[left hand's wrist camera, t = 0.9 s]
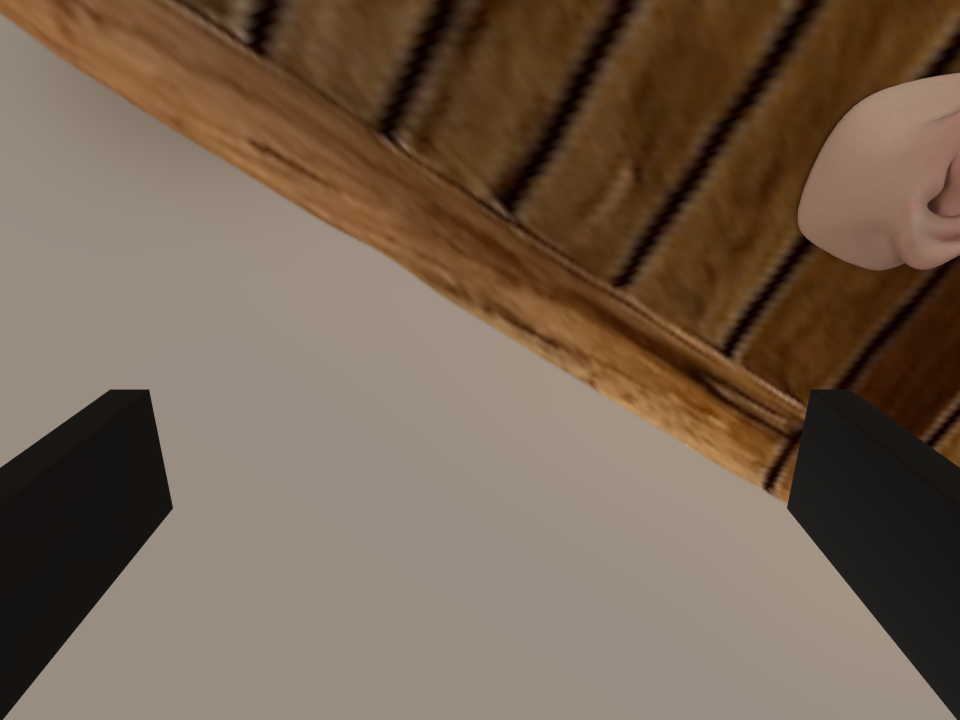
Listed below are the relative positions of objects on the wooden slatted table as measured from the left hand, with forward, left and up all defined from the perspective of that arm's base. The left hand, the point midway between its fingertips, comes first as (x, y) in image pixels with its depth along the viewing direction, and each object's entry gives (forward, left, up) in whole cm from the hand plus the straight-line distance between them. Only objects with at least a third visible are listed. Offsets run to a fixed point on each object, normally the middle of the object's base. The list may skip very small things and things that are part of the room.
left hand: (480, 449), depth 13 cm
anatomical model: (-15, +22, -28) cm, 39 cm away
